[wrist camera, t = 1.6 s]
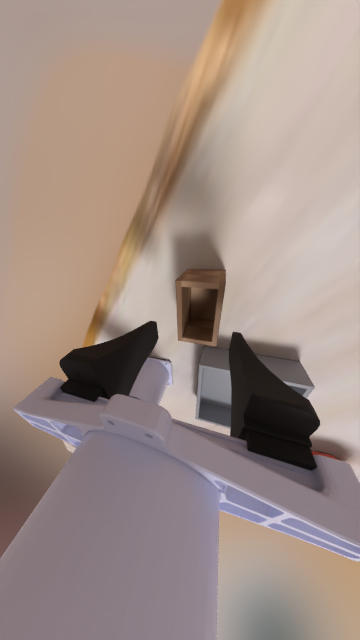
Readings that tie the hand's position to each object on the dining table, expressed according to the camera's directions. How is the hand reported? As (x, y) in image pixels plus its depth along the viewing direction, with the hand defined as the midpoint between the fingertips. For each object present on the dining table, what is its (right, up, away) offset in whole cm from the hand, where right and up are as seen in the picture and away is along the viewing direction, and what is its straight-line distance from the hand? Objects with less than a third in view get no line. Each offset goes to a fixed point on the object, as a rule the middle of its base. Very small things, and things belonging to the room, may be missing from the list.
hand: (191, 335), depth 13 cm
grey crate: (+11, -12, +15) cm, 22 cm away
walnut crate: (+3, +5, +8) cm, 10 cm away
